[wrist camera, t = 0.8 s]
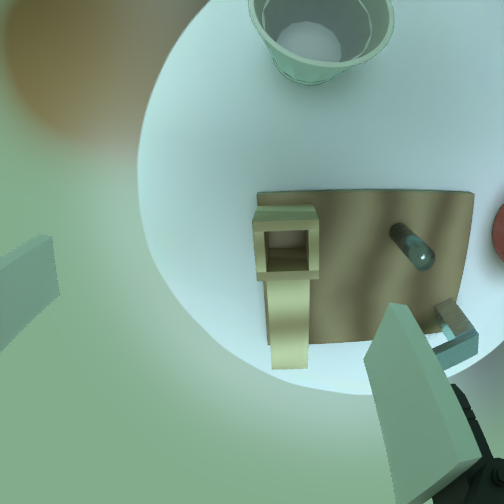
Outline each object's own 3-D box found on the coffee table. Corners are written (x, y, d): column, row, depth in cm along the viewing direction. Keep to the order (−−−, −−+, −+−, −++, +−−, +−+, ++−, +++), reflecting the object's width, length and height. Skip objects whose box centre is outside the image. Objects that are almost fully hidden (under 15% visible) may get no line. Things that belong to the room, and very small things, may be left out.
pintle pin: (408, 222, 27) (437, 247, 21) (406, 241, 27) (433, 270, 21) (389, 222, 27) (415, 248, 21) (388, 242, 28) (412, 271, 22)
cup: (326, 109, 24) (357, 95, 13) (247, 68, 24) (221, 27, 13) (365, 43, 21) (413, -3, 10) (288, 3, 21) (289, -65, 10)
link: (312, 337, 33) (315, 368, 28) (267, 338, 33) (264, 369, 29) (312, 203, 27) (318, 219, 22) (257, 205, 28) (252, 221, 23)
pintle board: (469, 191, 25) (474, 194, 24) (444, 326, 32) (447, 331, 31) (257, 192, 28) (256, 195, 27) (268, 339, 35) (267, 345, 34)
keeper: (393, 322, 31) (412, 363, 25) (451, 297, 29) (478, 332, 23) (397, 341, 32) (414, 383, 26) (452, 317, 30) (477, 353, 24)
